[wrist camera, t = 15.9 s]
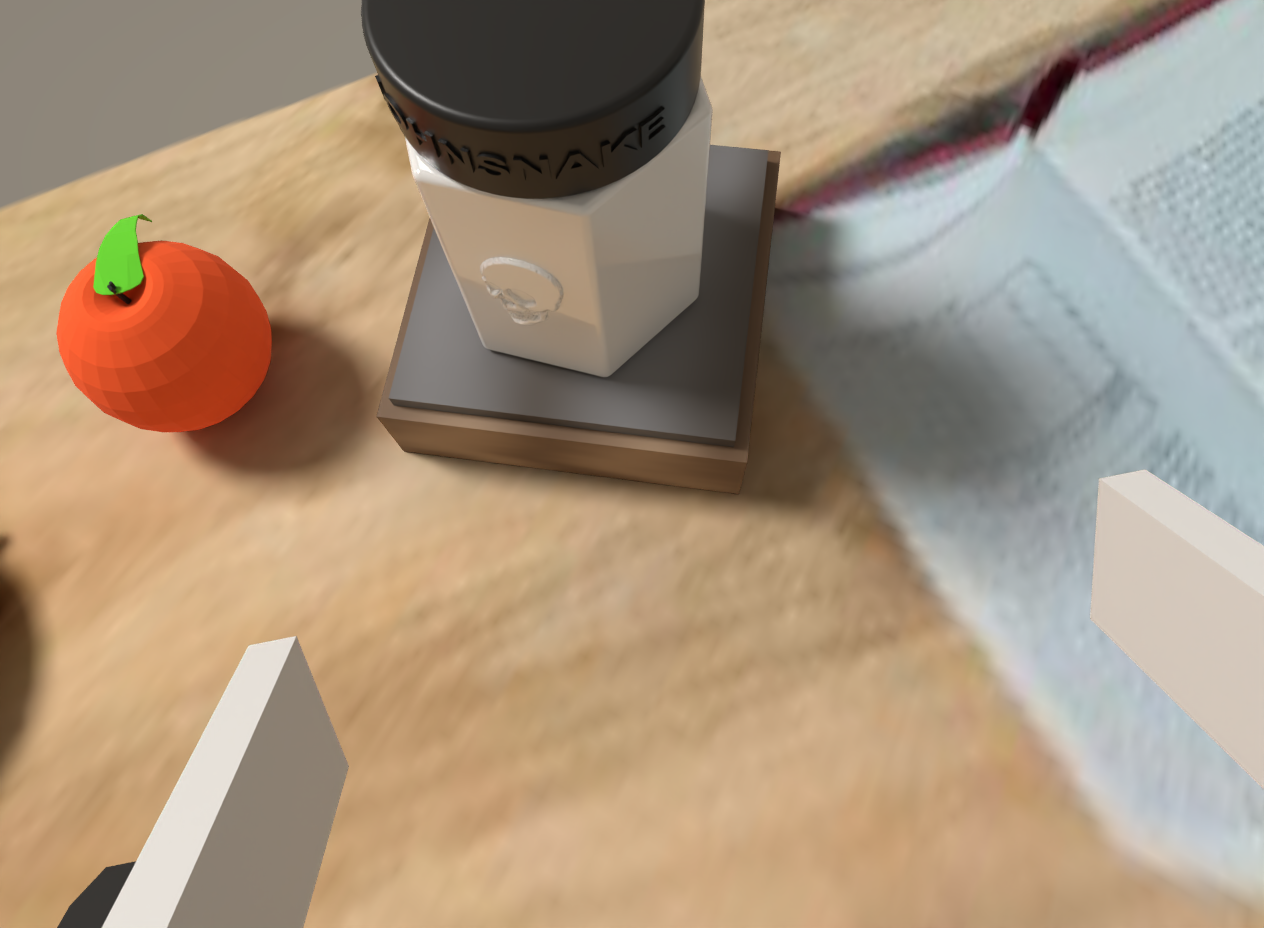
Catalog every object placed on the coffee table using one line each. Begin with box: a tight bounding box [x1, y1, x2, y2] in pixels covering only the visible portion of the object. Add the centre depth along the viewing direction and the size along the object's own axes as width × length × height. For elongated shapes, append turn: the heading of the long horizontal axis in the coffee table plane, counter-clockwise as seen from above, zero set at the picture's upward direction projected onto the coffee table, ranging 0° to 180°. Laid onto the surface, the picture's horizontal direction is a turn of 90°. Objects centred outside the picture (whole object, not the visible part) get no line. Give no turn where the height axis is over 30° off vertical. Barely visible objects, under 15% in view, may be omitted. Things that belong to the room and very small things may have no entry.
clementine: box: [57, 214, 272, 432], centre depth 32 cm, size 8×7×7 cm
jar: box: [361, 0, 713, 377], centre depth 26 cm, size 9×8×12 cm
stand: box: [377, 145, 781, 494], centre depth 33 cm, size 13×13×4 cm
